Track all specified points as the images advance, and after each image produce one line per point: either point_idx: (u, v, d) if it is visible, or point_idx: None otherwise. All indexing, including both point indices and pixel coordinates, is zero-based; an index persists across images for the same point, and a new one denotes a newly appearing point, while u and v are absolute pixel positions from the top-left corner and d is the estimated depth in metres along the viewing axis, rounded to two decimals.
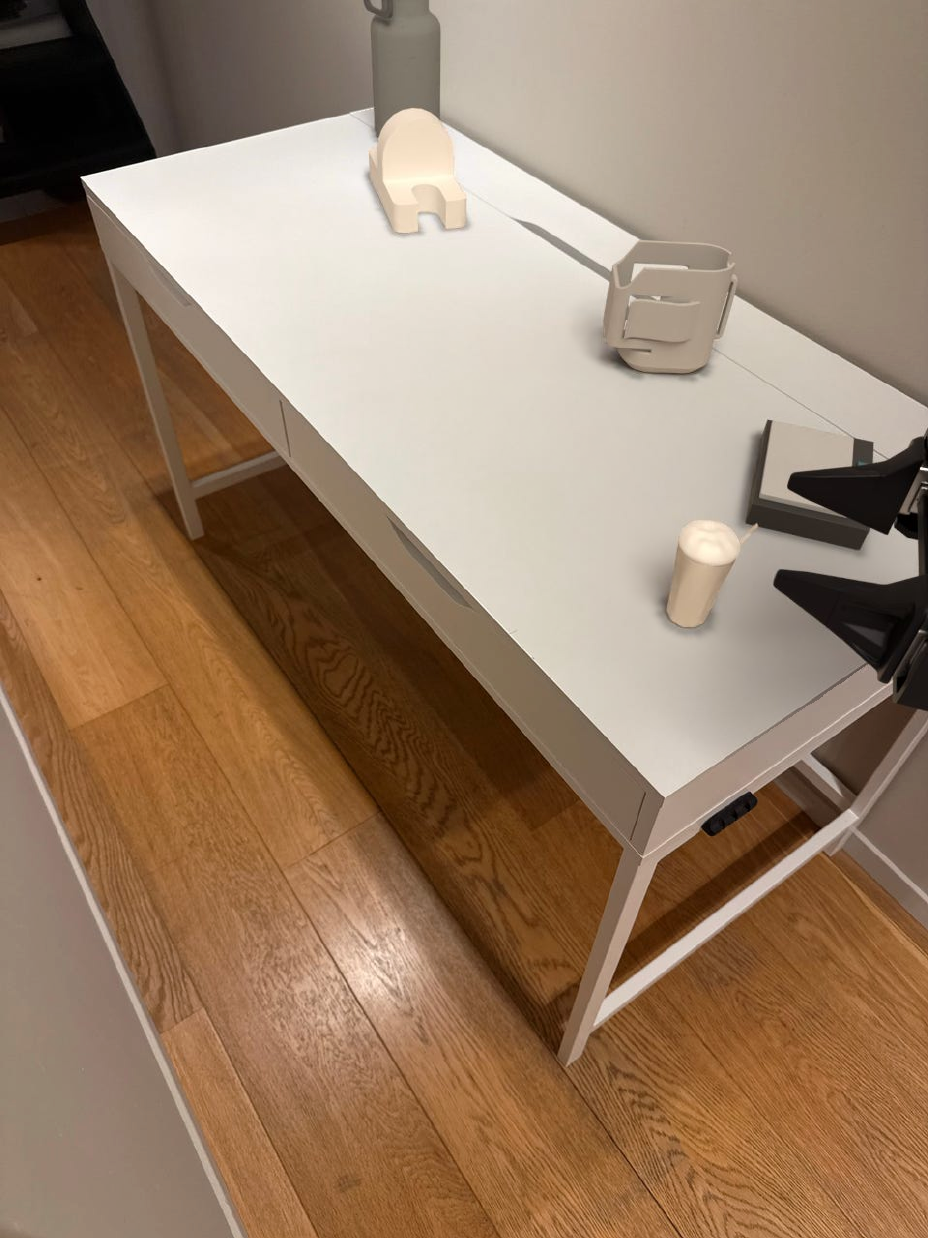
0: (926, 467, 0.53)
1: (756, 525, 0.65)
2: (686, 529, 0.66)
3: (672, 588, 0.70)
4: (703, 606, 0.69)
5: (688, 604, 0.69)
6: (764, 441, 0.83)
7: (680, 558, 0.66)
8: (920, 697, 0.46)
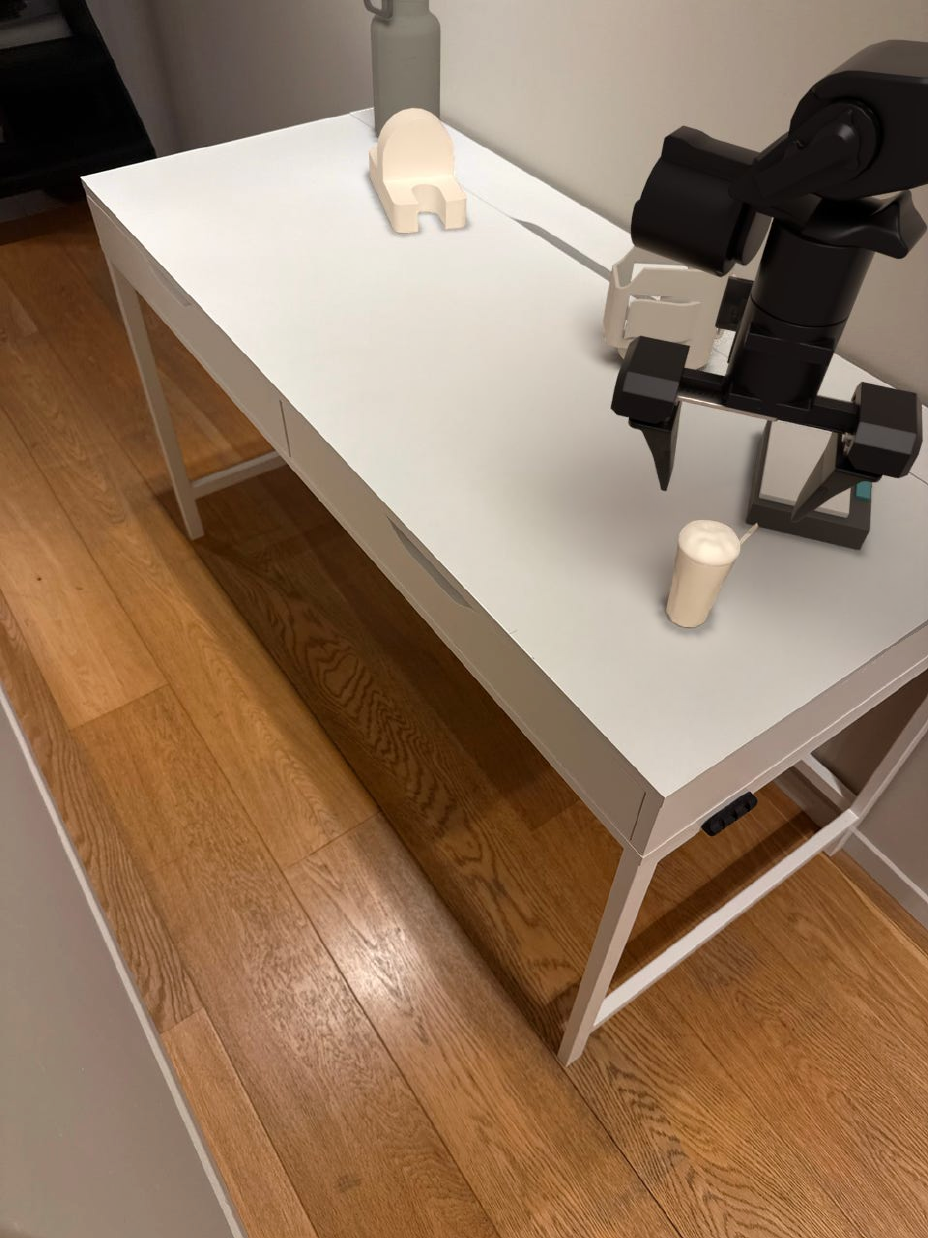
0: None
1: (756, 525, 0.65)
2: (686, 529, 0.66)
3: (672, 588, 0.70)
4: (703, 606, 0.69)
5: (688, 604, 0.69)
6: (764, 441, 0.83)
7: (680, 558, 0.66)
8: None
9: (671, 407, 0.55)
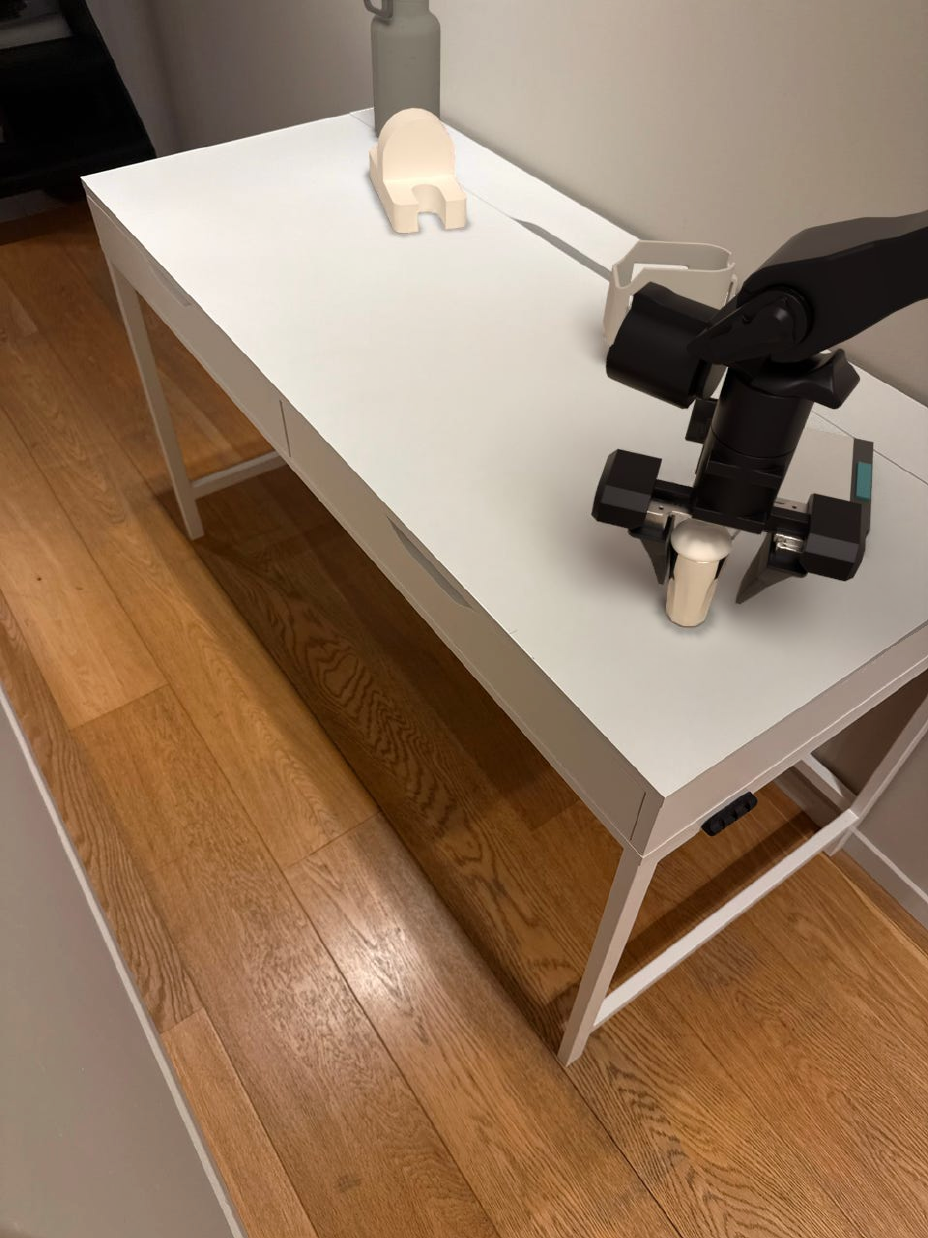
0: None
1: None
2: (677, 527, 0.66)
3: (669, 587, 0.70)
4: (701, 604, 0.69)
5: (685, 602, 0.69)
6: None
7: (673, 556, 0.67)
8: None
9: (644, 517, 0.63)
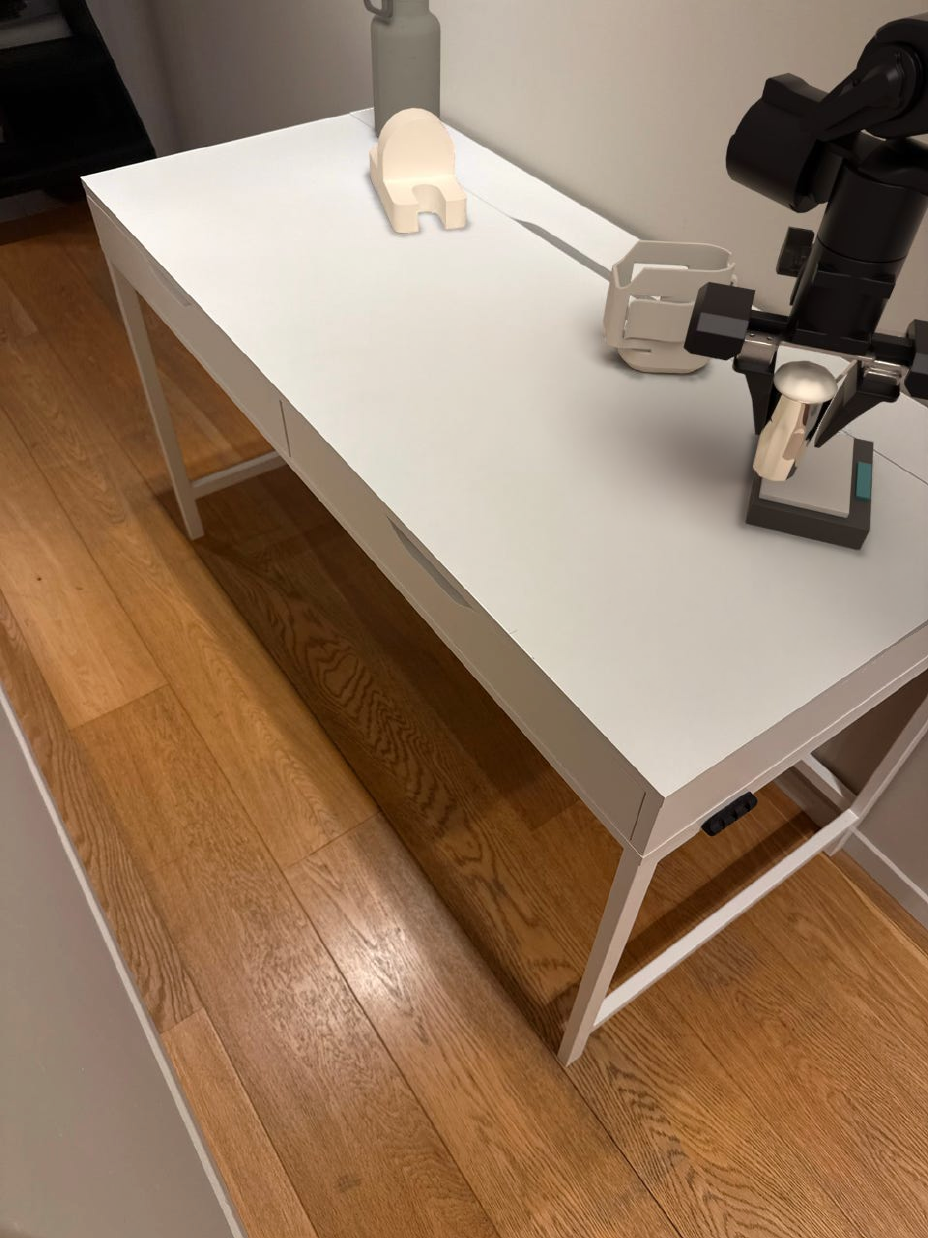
0: None
1: (855, 360, 0.63)
2: (781, 369, 0.64)
3: (762, 438, 0.68)
4: (796, 454, 0.67)
5: (781, 452, 0.67)
6: None
7: (775, 400, 0.65)
8: None
9: (741, 344, 0.61)
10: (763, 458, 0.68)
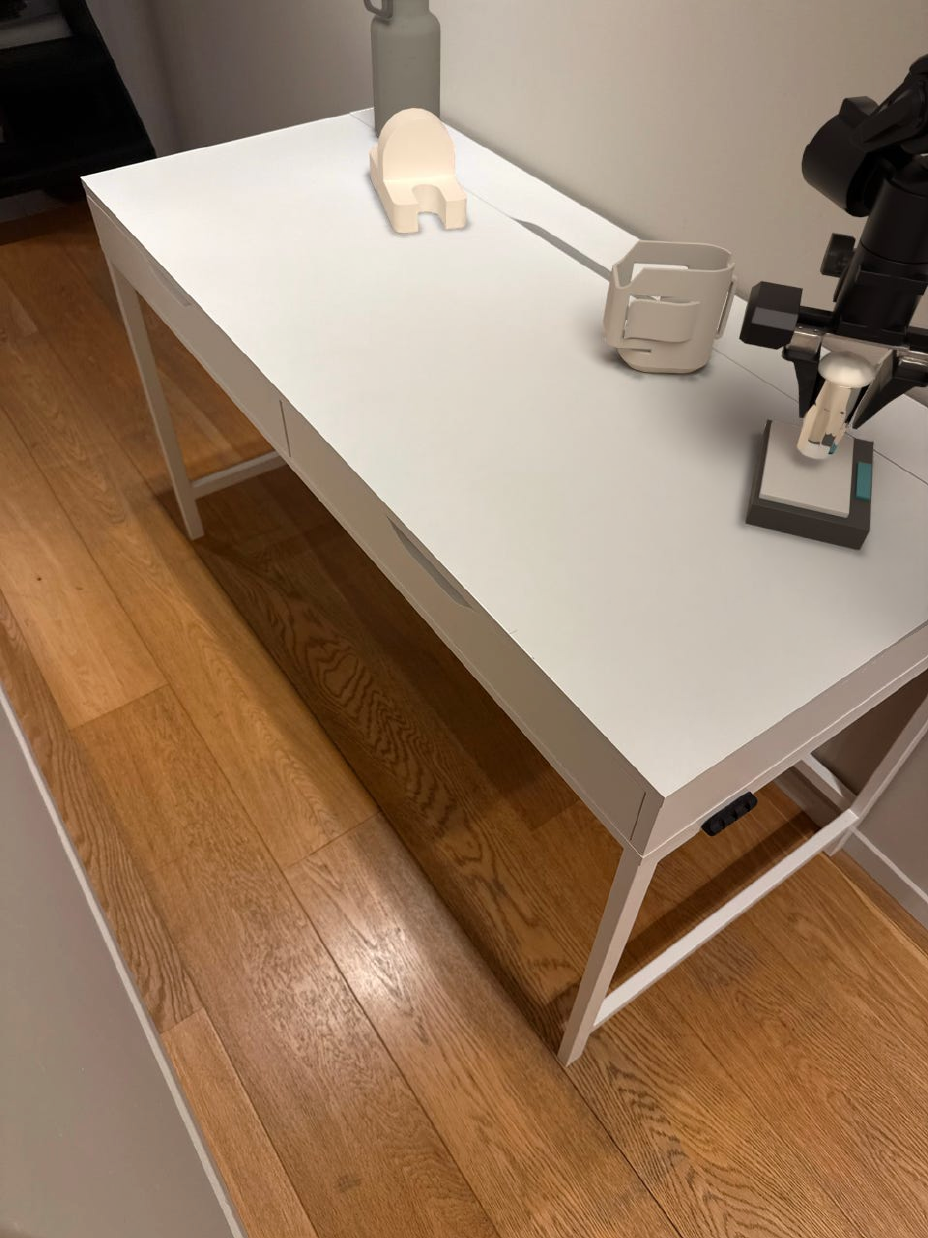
0: None
1: (891, 349, 0.71)
2: (825, 358, 0.73)
3: (806, 420, 0.76)
4: (836, 434, 0.76)
5: (823, 432, 0.76)
6: (764, 441, 0.83)
7: (819, 385, 0.73)
8: None
9: (791, 335, 0.69)
10: (806, 438, 0.77)
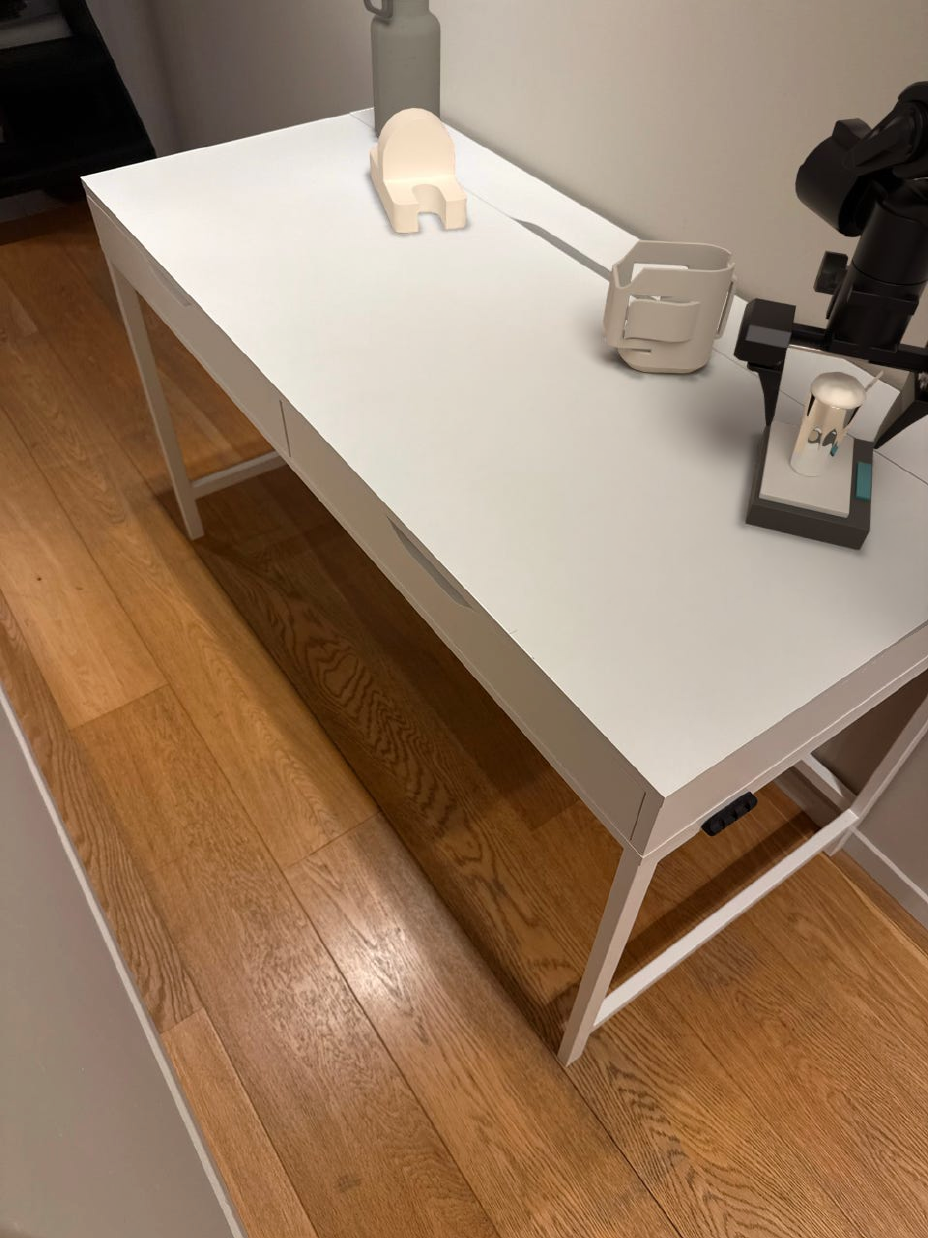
0: None
1: (882, 372, 0.73)
2: (818, 379, 0.74)
3: (799, 439, 0.78)
4: (828, 453, 0.77)
5: (815, 451, 0.77)
6: (764, 441, 0.83)
7: (812, 405, 0.75)
8: (737, 339, 0.72)
9: (784, 352, 0.70)
10: (799, 456, 0.78)
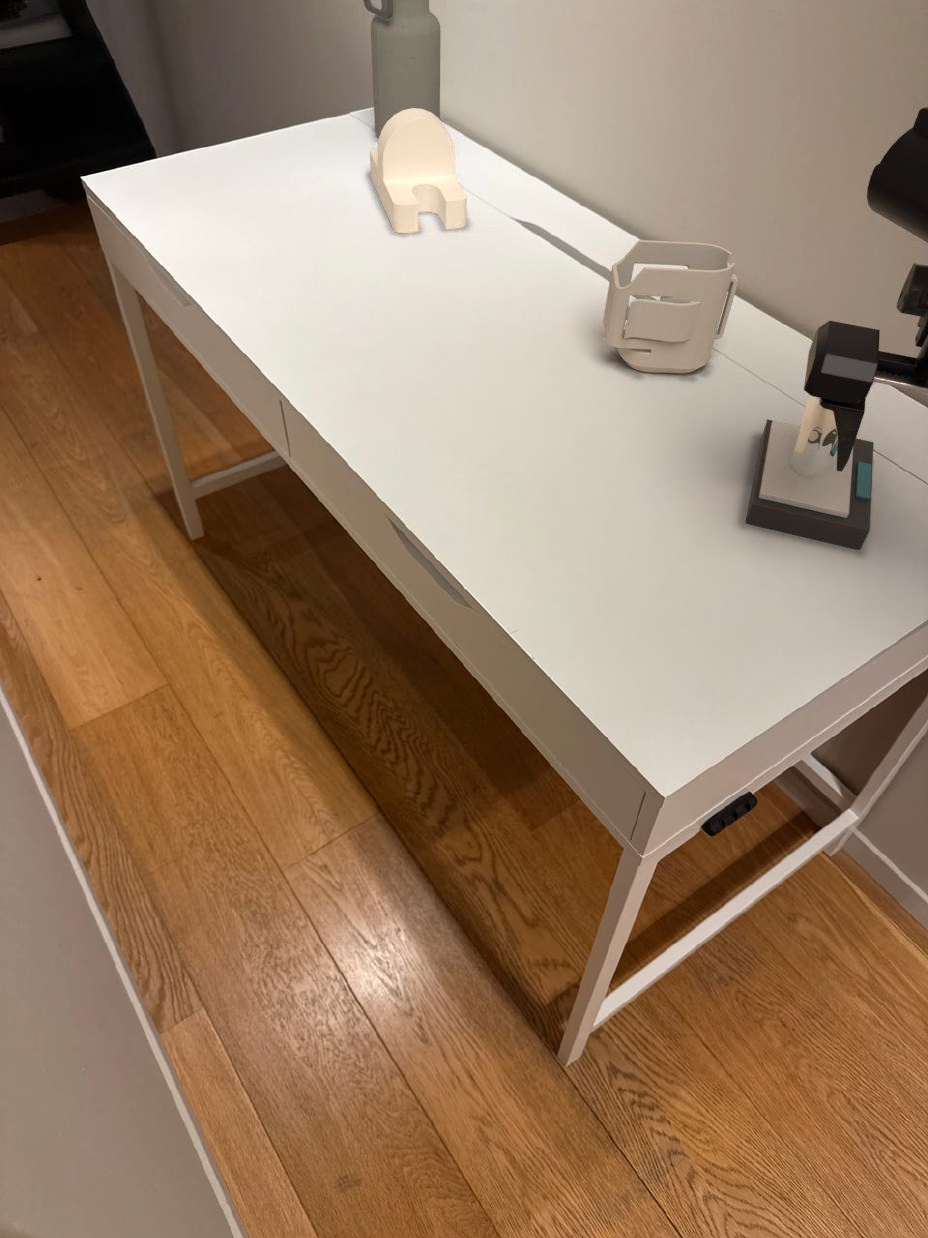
0: None
1: None
2: None
3: (799, 439, 0.78)
4: (828, 453, 0.77)
5: (815, 451, 0.77)
6: (764, 441, 0.83)
7: (812, 405, 0.75)
8: (808, 371, 0.60)
9: (869, 387, 0.58)
10: (799, 456, 0.78)
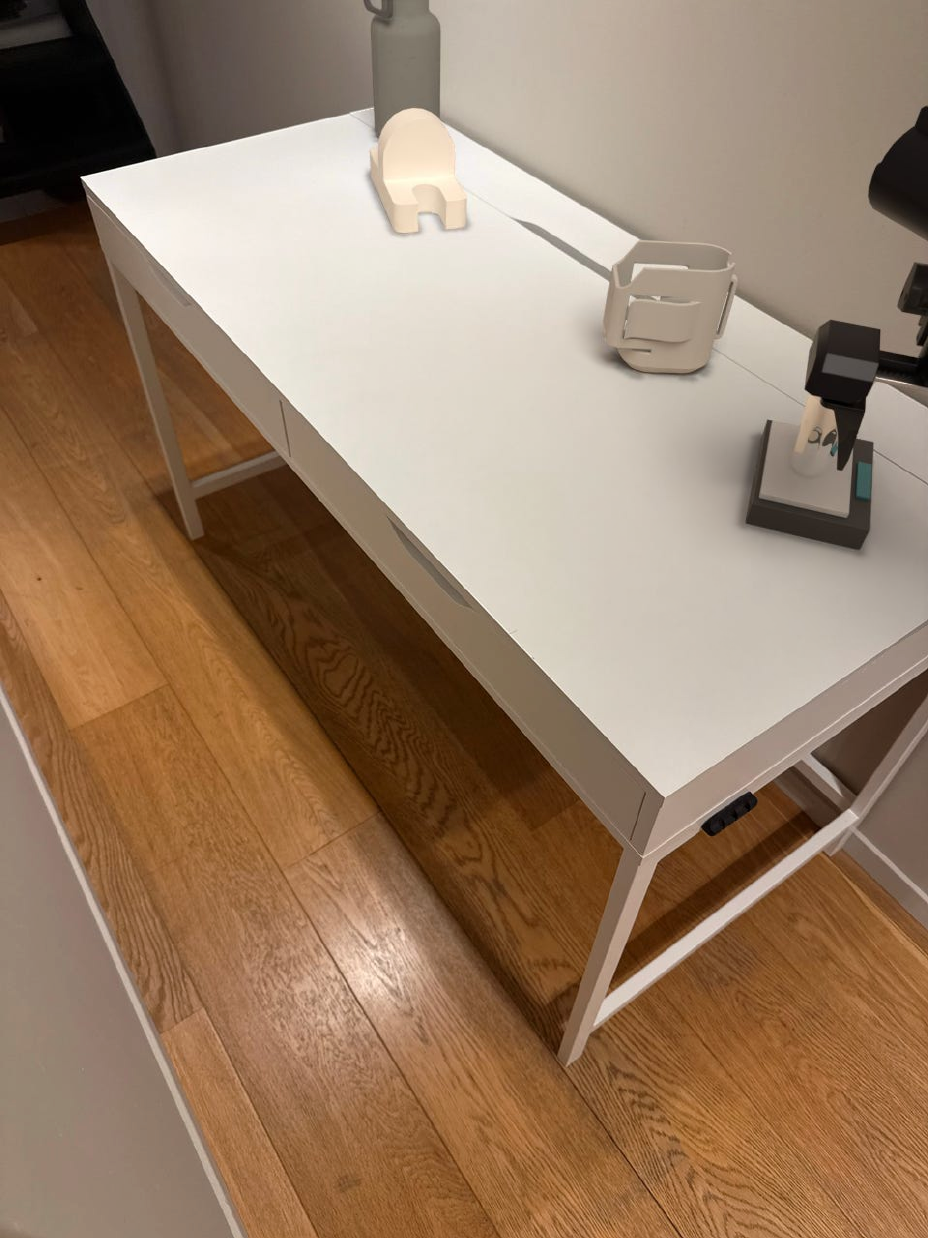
0: None
1: None
2: None
3: (799, 439, 0.78)
4: (828, 453, 0.77)
5: (815, 451, 0.77)
6: (764, 441, 0.83)
7: (812, 405, 0.75)
8: (809, 370, 0.60)
9: (870, 387, 0.58)
10: (799, 456, 0.78)
